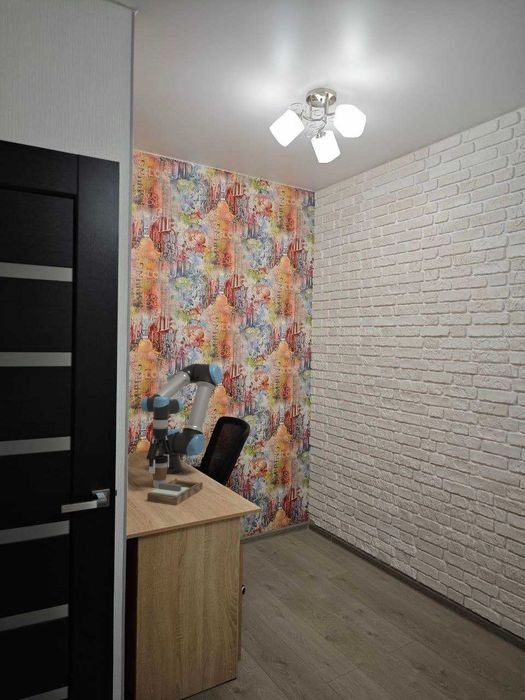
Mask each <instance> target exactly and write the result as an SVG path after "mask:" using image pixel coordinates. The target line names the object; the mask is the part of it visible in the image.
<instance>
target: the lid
mask: <svg viewBox="0 0 525 700" xmlns="http://www.w3.org/2000/svg"><path fill="white" fill-rule="evenodd" d="M168 483H169V482H167V483H161V482H160V483H159V488H155V489H153V490H151V491H150V492H151V493H152V494H159V495H166V496H173V497H177V496H178V495H180V494H182V493H183V492H185V491H187V490H189V488H186V487H181V485H176V484H168Z"/></svg>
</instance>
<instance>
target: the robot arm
mask: <svg viewBox="0 0 525 700" xmlns="http://www.w3.org/2000/svg"><path fill="white" fill-rule="evenodd" d="M222 379H223V372H222V370H221V367H220V366H219V365H217V364H212V363H193V364H192V363H191V364H189V365H187V366H185V367H183V368H181V369H180V370H178V372H176V375H175V376H174V377H173V378H172V379H171V380H170V381H168V382H167V383H165V385H163V386H162V387H161V388H160V389H159V390H158V391H156V392H155V393H153V394H152V395H151V396H150V397H149V396H147V397H143V398H142V399H141V402H140V408H141V410H142V411H144V412H147V413H148V412H149V413H152V419H153V420H152V427H153V428H152V436H153V437H154V438H152V439H150V444H149V447H148V451H147V455H146V460H148V461H149V463H148V474H152V473H153V474H154V473H155V460H154V458H155V456H168V462H167V475H170V474H171V475H173V474H179V473H181V472H182V470H183V465H182V461H181V459H180V455H186V456H199V455H200V454H201V453H202V452H203V450H204V449H205V446H206V438H205V436H204V432H203V430H202V429H203V425H204V422H205V418H206V415H207V410H208V407H209V402H210V400H211V395H212V391H214V390H215V389H216V386H218V385H220V384H221V383H222ZM190 384H195V386H196V387H197V388H196V391H195V394H194V398H193V402H192V406H191V409H190V412H189V417H188V420H187V424H186V425H185V426H184V427H183V428H182V431H180V428H171V429H169V428H168V427H169V415H174V414H179V413H181V412H182V410H183V409H184V403H183V402H182V400H181V399H179V398H173V397H174V396H175V395H176V394H177V393H178V392H180V391H181V390H182V389H183V388H184V387H187V386H190ZM172 398H173V399H172Z"/></svg>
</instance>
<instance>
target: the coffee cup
mask: <svg viewBox="0 0 525 700" xmlns="http://www.w3.org/2000/svg"><path fill="white" fill-rule="evenodd" d="M154 460H155V473H154V474H153V473H151V474H152V486H153V488H155V489H157V488H159V483H160V482H161V483H166V481H167V475H168V474H167V462H168V456H158V455H156V456H155V458H154Z"/></svg>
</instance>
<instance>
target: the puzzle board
mask: <svg viewBox="0 0 525 700" xmlns="http://www.w3.org/2000/svg"><path fill="white" fill-rule="evenodd" d="M167 483H168V484H176V485H181V487H186V488H189V490H187V491H185V492H183V493H182V494H180V495H178V496H177V497H173V496H166V495H159V494H152V493H151V491H150V492H147V497H146V498H147V499H146V500H147V502H151V503H152V502H153V503H160V504H167V505H171V506H172V505H173V506H178V505H180V504H181V503H183V502H185V501H187V500H188V499H189V498H190V497H192V496H194V495H195V494H197V493H199V492H200V491H202V490H203V486H204V484H203V481H201V482H199V481H198V482H196V481H187V480H181V479H180V480H179V479H177V478H175V479H173V480H171V481H169V482H167Z"/></svg>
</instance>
